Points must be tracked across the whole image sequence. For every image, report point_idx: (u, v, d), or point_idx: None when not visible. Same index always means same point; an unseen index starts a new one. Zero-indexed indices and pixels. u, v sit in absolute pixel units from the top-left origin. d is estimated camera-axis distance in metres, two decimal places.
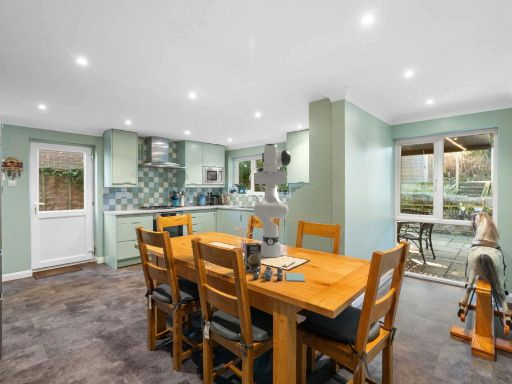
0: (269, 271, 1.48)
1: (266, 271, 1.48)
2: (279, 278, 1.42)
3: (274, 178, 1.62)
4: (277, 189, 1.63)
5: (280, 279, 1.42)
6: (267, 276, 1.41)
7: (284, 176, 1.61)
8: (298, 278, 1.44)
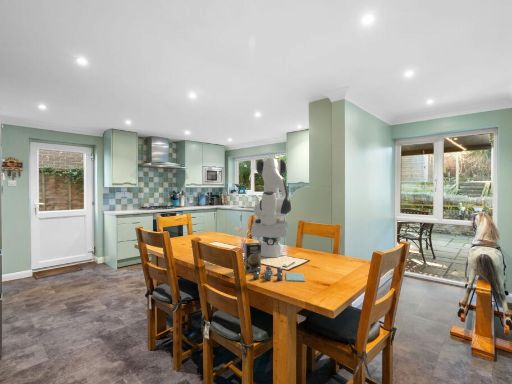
0: (269, 271, 1.48)
1: (266, 271, 1.48)
2: (279, 278, 1.42)
3: (273, 230, 1.46)
4: (276, 242, 1.47)
5: (280, 279, 1.42)
6: (267, 276, 1.41)
7: (284, 228, 1.46)
8: (298, 278, 1.44)
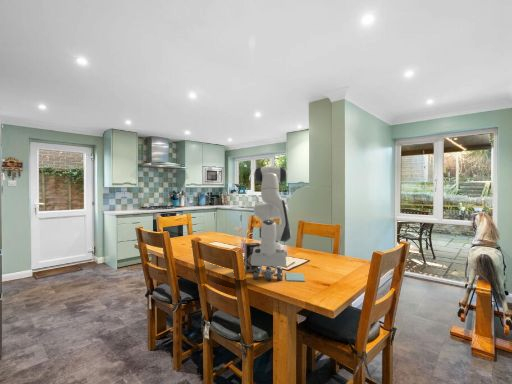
0: (269, 271, 1.48)
1: (266, 271, 1.48)
2: (279, 278, 1.42)
3: (273, 260, 1.46)
4: (273, 271, 1.47)
5: (280, 279, 1.42)
6: (267, 276, 1.41)
7: (284, 258, 1.46)
8: (298, 278, 1.44)
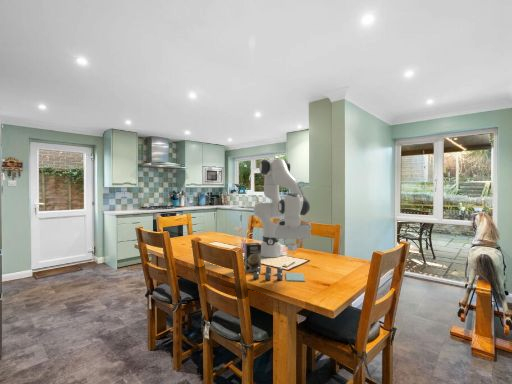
0: (293, 244, 1.47)
1: (290, 244, 1.47)
2: (279, 278, 1.42)
3: (297, 232, 1.45)
4: (297, 244, 1.46)
5: (280, 279, 1.42)
6: (267, 276, 1.41)
7: (308, 230, 1.44)
8: (298, 278, 1.44)
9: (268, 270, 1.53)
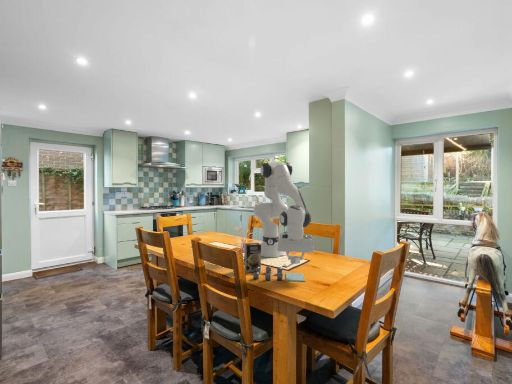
0: (296, 257, 1.47)
1: (293, 257, 1.47)
2: (279, 278, 1.42)
3: (300, 245, 1.45)
4: (300, 257, 1.46)
5: (280, 279, 1.42)
6: (267, 276, 1.41)
7: (311, 243, 1.44)
8: (298, 278, 1.44)
9: (268, 270, 1.53)
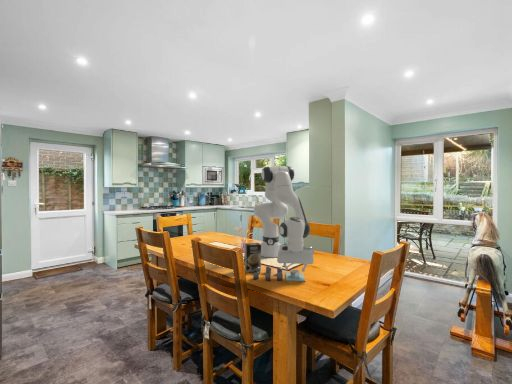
0: (296, 271, 1.47)
1: (293, 271, 1.47)
2: (279, 278, 1.42)
3: (300, 257, 1.45)
4: (303, 269, 1.46)
5: (280, 279, 1.42)
6: (267, 276, 1.41)
7: (311, 255, 1.45)
8: (298, 278, 1.44)
9: (268, 270, 1.53)
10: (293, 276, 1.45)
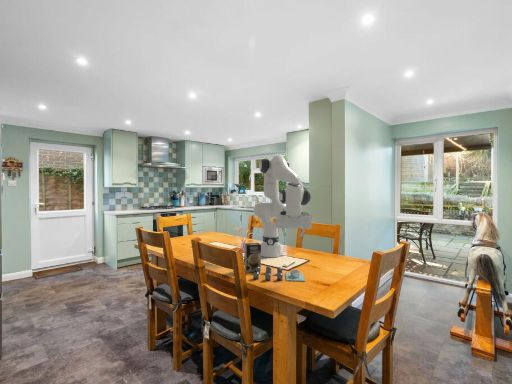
0: (296, 271, 1.47)
1: (293, 271, 1.47)
2: (279, 278, 1.42)
3: (298, 222, 1.47)
4: (301, 234, 1.48)
5: (280, 279, 1.42)
6: (267, 276, 1.41)
7: (309, 220, 1.46)
8: (298, 278, 1.44)
9: (268, 270, 1.53)
10: (293, 276, 1.45)
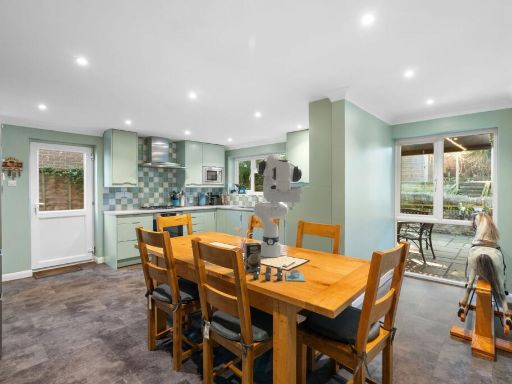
0: (296, 271, 1.47)
1: (293, 271, 1.47)
2: (279, 278, 1.42)
3: (287, 196, 1.54)
4: (290, 207, 1.55)
5: (280, 279, 1.42)
6: (267, 276, 1.41)
7: (298, 194, 1.54)
8: (298, 278, 1.44)
9: (268, 270, 1.53)
10: (293, 276, 1.45)
